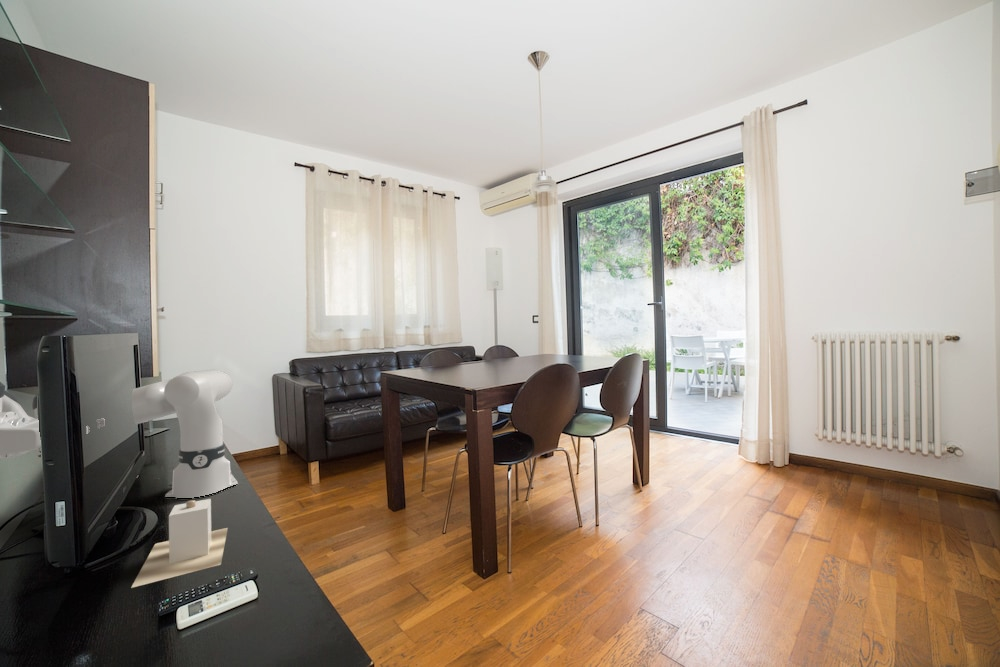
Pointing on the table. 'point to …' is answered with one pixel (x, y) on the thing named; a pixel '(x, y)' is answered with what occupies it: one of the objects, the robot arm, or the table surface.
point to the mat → (161, 569)
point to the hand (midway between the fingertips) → (96, 426)
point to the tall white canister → (189, 530)
